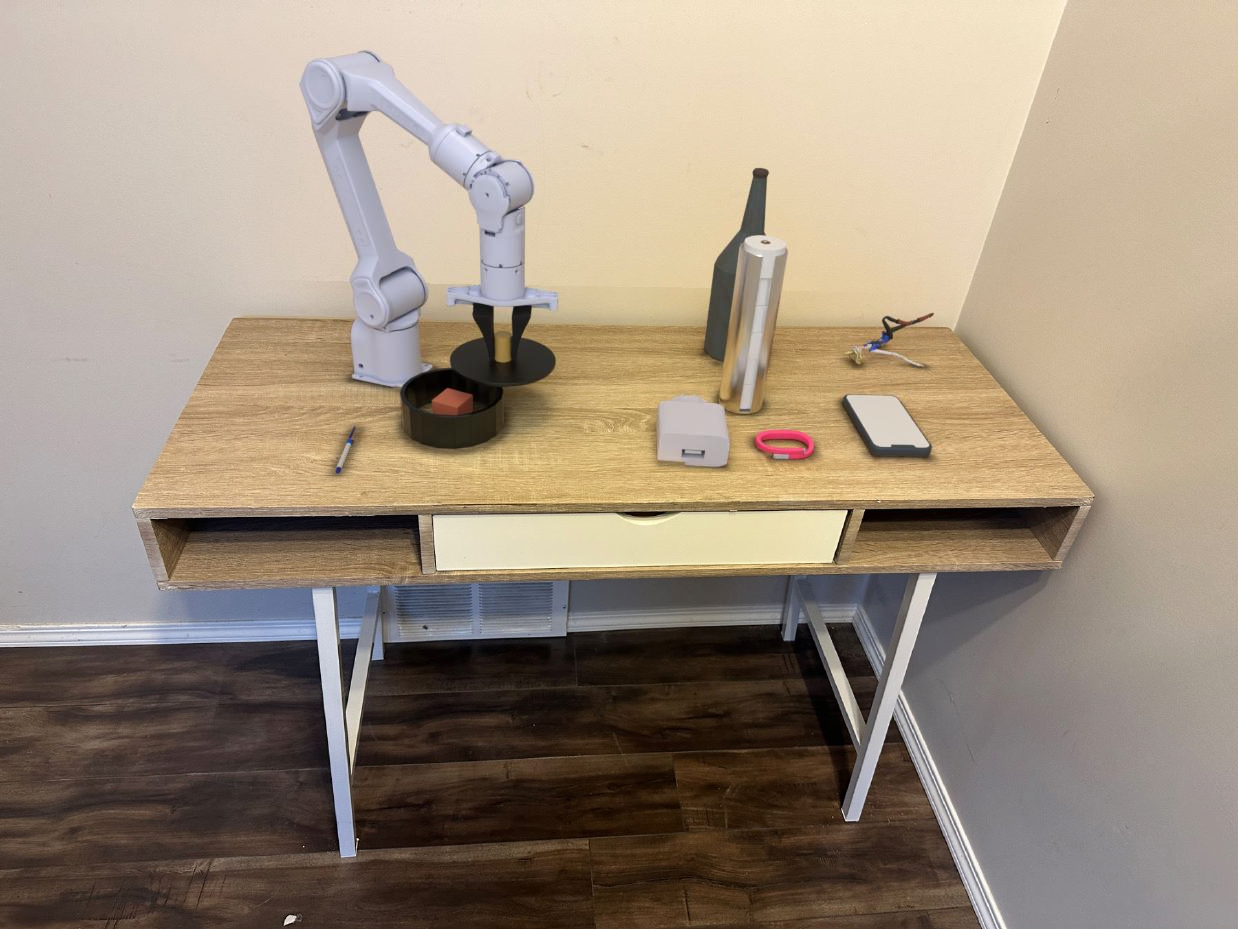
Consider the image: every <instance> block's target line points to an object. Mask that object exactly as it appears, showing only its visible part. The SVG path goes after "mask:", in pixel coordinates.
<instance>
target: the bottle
mask: <svg viewBox="0 0 1238 929" xmlns="http://www.w3.org/2000/svg"><path fill="white" fill-rule="evenodd" d="M769 174H770V170H768V169H767V168H763V167H754V168H753V170H752V180H751V183H750V188H749V192H748V196H747V199H746V204H745V208H744V211H743V212H744V213H743V217H742V220H741V225H740V229H739V230H738V231H737V232H736V234H735V235H734V236H733V238H732V239H731V240H730V241H729V243H727V245H726V246H725V247H724V249H723V250H722V251H721V252H720V253H719V255H718V256H717V257H716V260H715V262H714V263H713V272H712V277H711V278H712V280H711V289H710V296H709V302H708V303H709V304H708V311H707V318H706V319H707V320H706V328H705V336H704V343H703V350H704V352H705V354H706V355H709V356H710V357H711V358H712V360H716V361H719V362H722V363H724V357H725V350H726V342H727V335H728V328H729V321H730V313H731V306H732V299H733V292H734V285H735V277H736V270H737V263H738V256H739V248H740V245H741V244H742V243H743V242H744V241H745V239H746V238H748V237H750V236H757V235H763V236H767V235H766V231H765V227H766V208H767V190H768V188H767V186H768V176H769Z"/></svg>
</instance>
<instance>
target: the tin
mask: <svg viewBox="0 0 1238 929" xmlns="http://www.w3.org/2000/svg"><path fill="white" fill-rule="evenodd" d="M447 388H449V389H453V390H457V391H460V392H464V393H468V394H471V395H473V403H478V404H481V405H483V406H485V407H484V408H481V409H478V410H475V411H473V412H471V413H467V414H458V415H443V414H434V413H432V412H429V411H424V410H423V409H421V408H422V407H425V406H426V405H430V404H432V400H433V399H434V398H436V397H437V396H438V395H439V394H441V393H442V392H443V391H444V390H446V389H447ZM399 402H400V412H401V424H402V428H403V431H404V432H403V433H404V434H406V436H408V437H409V438H410V440H411V441H414V442H416V443H418V444H421V445H423V446H425V447H431V448H435V449H443V450H446V449H447V450H458V449H465V448H473V447H475V446H480V445H482V444H485V443H487V442H489V441H491V440H492V439H494V438H496V437H497V436H498V435H499V434H500V433H501V431H502V430H503V428H504V422H505V390H504V387H493V386H485V385H480V384H476V383H473V382H470V381H468V380H465V379H463V378H462V377H460V376H458V375H457V374H456V373H455V372H454V371H453V370H452V368H451V367H442V368H433V369H430V370H428V371H426V372H423V373H420V374H418V375H416V376H414V377H412V378H410V379H409V380H408V381H407V382H406V383H405V384H404V385H403V386H402V387H401V388H400V391H399Z"/></svg>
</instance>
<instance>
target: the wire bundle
mask: <svg viewBox="0 0 1238 929" xmlns="http://www.w3.org/2000/svg"><path fill="white" fill-rule="evenodd" d="M934 315H935V312H931V313H928V314H925V315H923V316H920V317H917V318H916V319H914V320H912V319H911V320H910V321H906V320H903V319H900V318H897V319H896V318H894V317H892V316H891V315H890V316H889V315H885V316H884V317H883V318H882V319H881V323H882V326H883V327H884V329H885V330H882V331H881V337H880V338H878V339H877V340H875V339H872V340H871V341H869V342H867V343H864V344H863V345H862V346H861V345H860V346H859V345H852V346H850V347H849V348H847V349H846V350H845V353H844V355H845V356H847V357H848V358H850V359H851V360H853V361H854V362H855V363H856V364H857V365H861V364H862V363H863V362H862V360H863V359H864V356H865V353H863V350H868V352H869V353H874V354H880V355H889V356H891V357H895V358H896V357H897V358H900V359H902V360H904V361H905V362H907V363H908V364H911V365H913V366H916V367H923V368H925V366H924V365H923V364H922V363H918V362H915V361H912V360H910V359H908V358H907V357H906V356H904V355H902V354H899V353H896V352H892V351H887V350H883V349H879V348H880V347H881V348H882V347H884V344H887V343H889V342H890V341H891V340H893V339H894V333H896V332H897V331H900V330H901V329H903V328H906V327H910V326H913V325H916V324H918V323H919V324H920V323H922V322H924V321H926V320H928V319H930V318H932V317H933V316H934ZM886 320H887V321H888V322H891V323H894V324H896V325H897V326H896V325H895V326H892V327H891V326H890V325H889V324H888V322H887V321H886Z"/></svg>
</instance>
